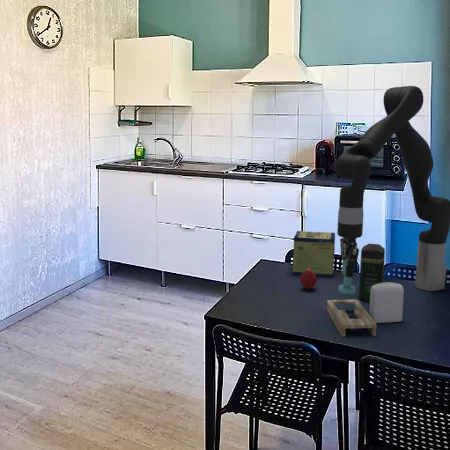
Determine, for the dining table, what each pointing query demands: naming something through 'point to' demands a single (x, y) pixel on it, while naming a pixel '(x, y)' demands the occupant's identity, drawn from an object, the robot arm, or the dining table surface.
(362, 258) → the coffee jar
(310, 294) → the dining table surface
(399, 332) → the dining table surface
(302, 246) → the protein box
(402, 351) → the dining table surface
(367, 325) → the keyhole plate
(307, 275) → the red pomegranate
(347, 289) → the peg
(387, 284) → the photo printer
